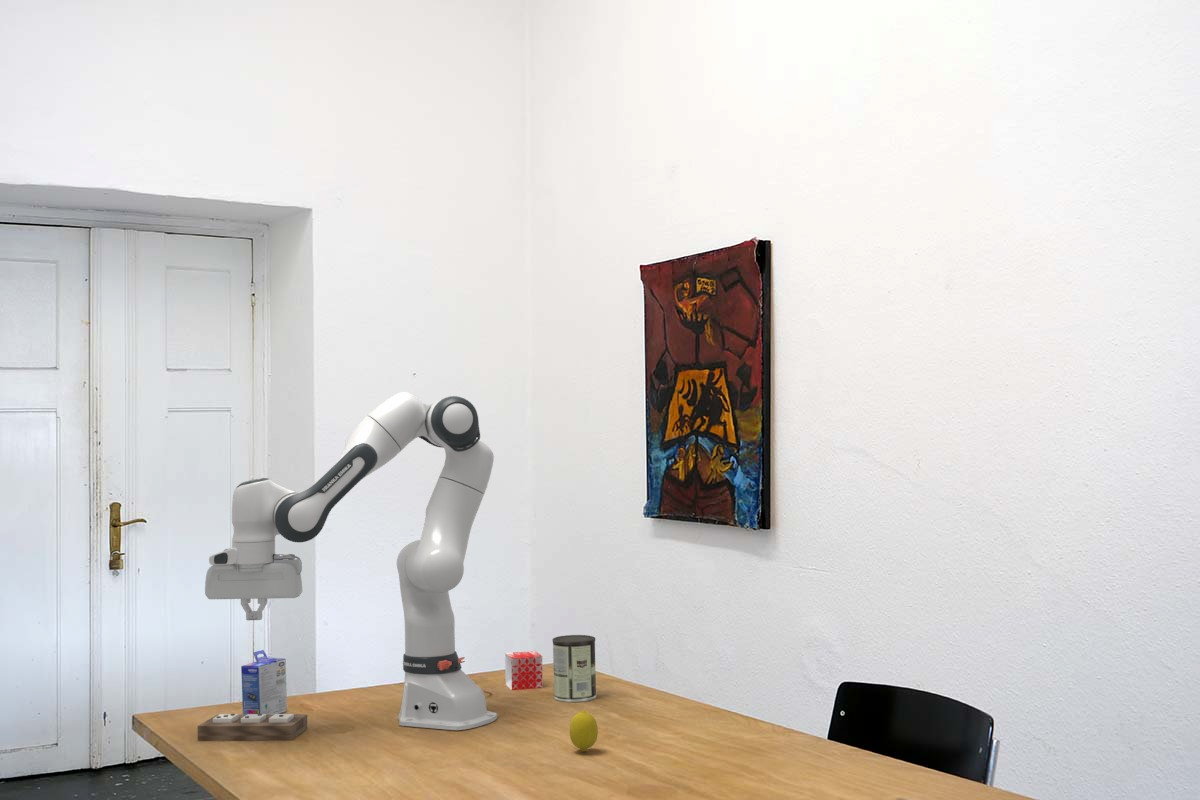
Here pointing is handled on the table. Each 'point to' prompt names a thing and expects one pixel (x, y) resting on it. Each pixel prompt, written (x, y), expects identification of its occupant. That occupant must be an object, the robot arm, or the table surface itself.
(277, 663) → the ink cartridge box
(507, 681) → the red and white cube
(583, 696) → the coffee can
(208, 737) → the button panel
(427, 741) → the table surface
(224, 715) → the button three
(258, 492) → the robot arm
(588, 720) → the lemon
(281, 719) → the button one
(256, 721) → the button two
